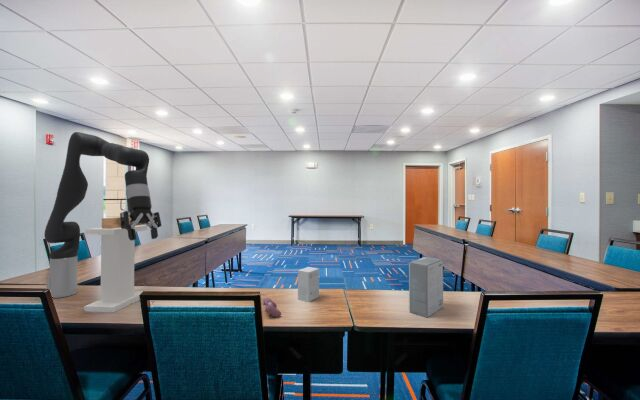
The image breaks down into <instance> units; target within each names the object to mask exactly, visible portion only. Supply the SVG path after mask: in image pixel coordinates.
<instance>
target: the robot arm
mask: <svg viewBox="0 0 640 400" xmlns="http://www.w3.org/2000/svg"><path fill="white" fill-rule="evenodd" d="M66 150H67V151H66V158H65V163H64V167H63V171H62V175H61V178H60V181H59V185H58V188H57V192H56V198H55V200H54V201H55V202H54V205H53V207H52V208H53V209H52V211H51V213H50V216H49V217H48V218H49V219H48V220H47V224H46V226H45V229H44V239H45V241H46V242H47V243H48V244H57V243H58V244H60V243H63V244H62V245H61V246H60V247H59V248H56V249H55V250H52V251H51V252H49V274H48V275H47V276H46V290H47V289H50V290H51V294H52V296H53V298H52V299H59V298H66V297H70V296H73V295H76V294H77V293H78V255H79V254H78V253H79V250H80V240H81V239H80V238H81V237H80V236H81V228H80V225H79V224H78V222H76V221H65V220H66V218H67V216H68V215H69V214H70V213H71V212H72V211H73V210H74V209H75V208H77V207H78V206H79V205H80V204H81V203H82V202H83V201H84V199H85V198H86V195H87V191H88V188H89V187H88V186H89V183H88V180H87V177H86V175H85V174H84V172H83V170H82V168H81V163H80V162H81V159H80V158H81V156H83V155H84V156H88V157H89V156H90V157H104V158H106V159H108V160H110V161H113V162H116V163H118V164H120V165H122V166H128V167H133V168H135V169H134V170H128V171H125V173H124V180H125V182H124V183H125V195H126V197H125V198H126V203H127V204H126V205H127V210H128V211H127V210H125V211H122V212H120V213H119V217H120V220H121V228H122V229H126V230H127V231H128V238H129V239H130V240H135V241H136V239H137V235H136V232H135V229H134V227H135V226H136V224H146V225H147V227H148V228H149V229H150V238H151V240H155V239H158V236H159V234H158V228H160V227H162V221H161V217H160V212H158V211H156V212H152V210H151V209H152V208H153V207H152V201H151V195H150V194H151V193H150V192H151V191H150V189H149V184H148V177H147V174H148V170H149V169H148V168H149V165H150V155H149V154H148V153H147V152H146V151H144V150H142V149H138V148H133V147H129V146H125V145H122V144H118V143H114V142H109V141H107V140H105V139H104V138H102V137H99V136H97V135H94V134H88V133H84V132H80V131H74V132H73V133H72V134H71V135H70V137H69V140H68V145H67V149H66ZM129 217H130V218H131V220H130V222H129ZM151 217H152V218H153V219H152V218H151ZM149 221H150V222H149Z"/></svg>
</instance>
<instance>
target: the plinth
mask: <svg viewBox="0 0 640 400" xmlns="http://www.w3.org/2000/svg"><path fill="white" fill-rule="evenodd" d="M134 229H135V233H136V232H143V231H147V230H148V226H147V225H138V226H135V227H134ZM84 234H85V235H98V236H99V235H101V237H100V299H98V300H96V301H93V302H91V303H89V304H87V305H84V307H83V311H84V312H90V313H92V312H93V313H115V312H117V311H119V310H121V309H123V308H125V307H127V306H130V305H132V304H133V303H135V301H136V302H137V301H139V294H140V293H141V292H142V291H139V290H138V291H135V251H136V250H135V248H136V247H135V245H136V242H135V241H136V239H135V240H130V239H129V238H128V231H127V230H126V229H122V228H113V229H102V226H101V227H92V228H85V233H84ZM131 303H132V304H131Z"/></svg>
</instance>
